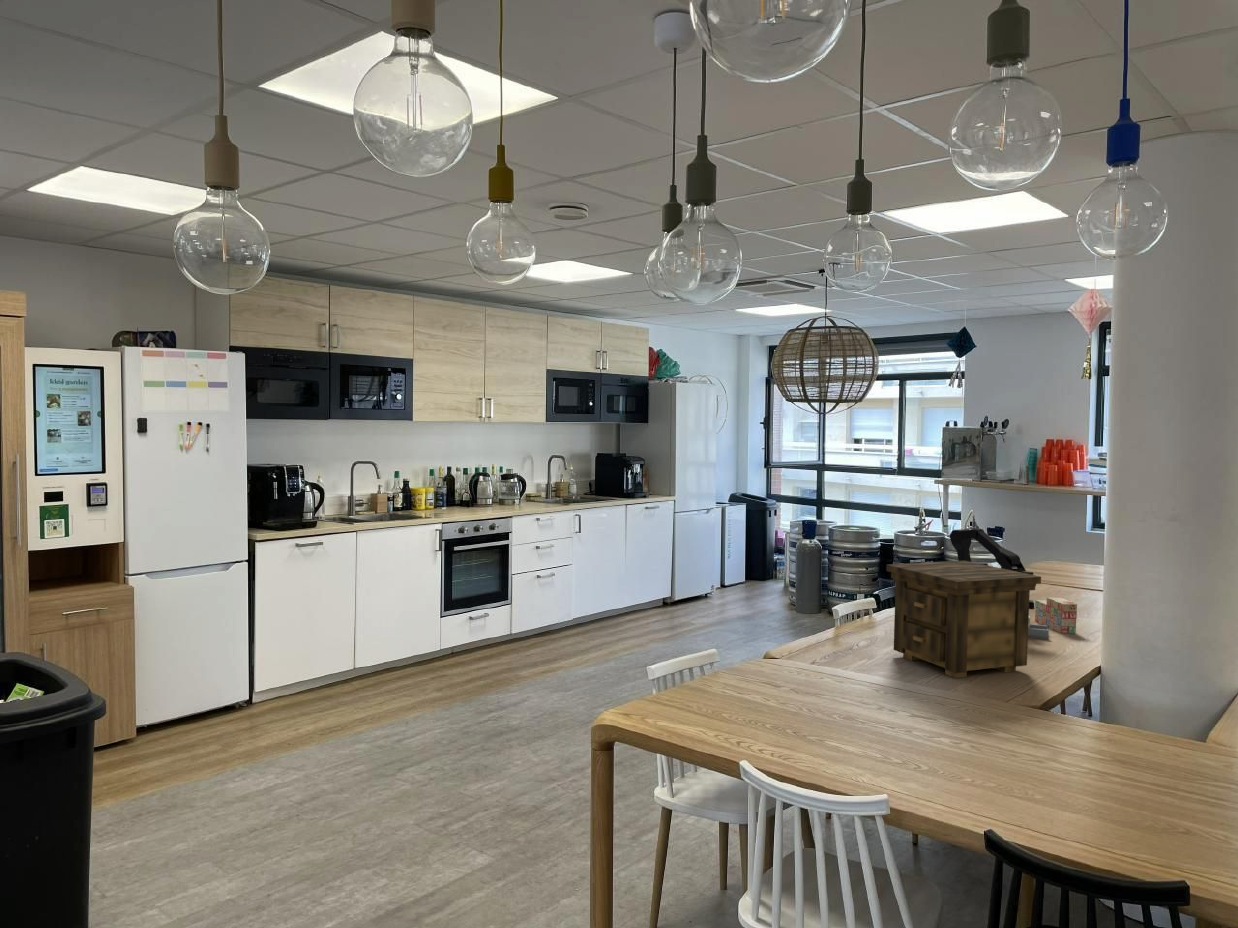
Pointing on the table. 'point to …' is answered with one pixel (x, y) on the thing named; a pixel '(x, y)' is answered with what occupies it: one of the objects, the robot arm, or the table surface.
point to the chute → (1038, 631)
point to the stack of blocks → (1057, 614)
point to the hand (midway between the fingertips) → (1007, 623)
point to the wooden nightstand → (962, 615)
